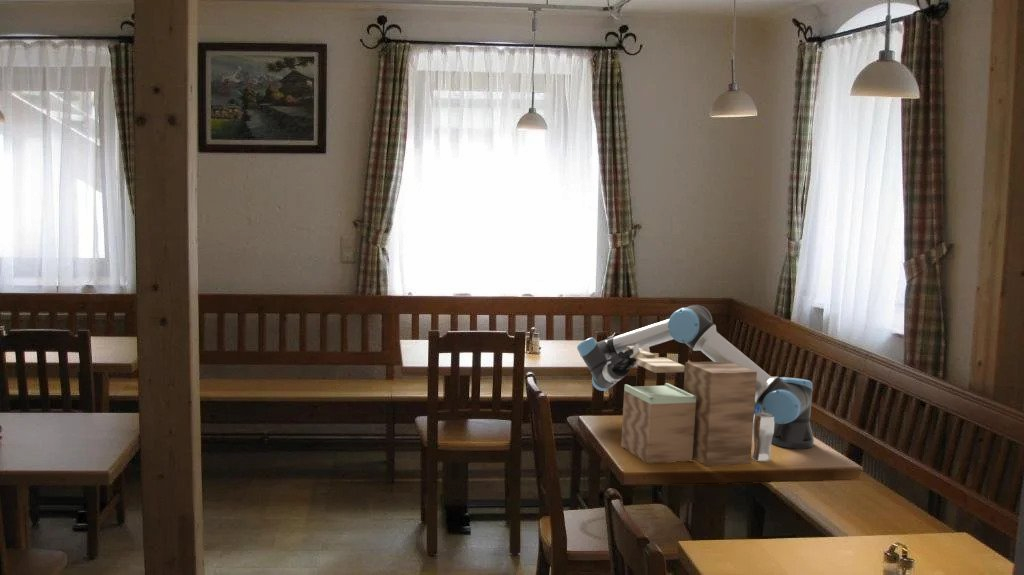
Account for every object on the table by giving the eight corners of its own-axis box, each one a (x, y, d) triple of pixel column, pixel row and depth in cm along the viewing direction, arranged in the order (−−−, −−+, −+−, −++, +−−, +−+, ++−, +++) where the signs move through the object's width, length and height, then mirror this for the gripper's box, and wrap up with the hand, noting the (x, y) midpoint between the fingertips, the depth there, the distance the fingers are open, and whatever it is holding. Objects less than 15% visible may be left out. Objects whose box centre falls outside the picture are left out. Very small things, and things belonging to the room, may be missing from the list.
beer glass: (772, 463, 330) (775, 418, 328) (750, 461, 331) (753, 416, 329) (771, 457, 336) (774, 413, 335) (749, 455, 338) (753, 411, 336)
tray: (624, 390, 340) (624, 384, 340) (667, 388, 345) (667, 383, 345) (650, 404, 321) (651, 397, 321) (695, 402, 326) (696, 396, 326)
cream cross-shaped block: (616, 354, 352) (616, 346, 352) (643, 354, 356) (644, 345, 355) (654, 372, 324) (655, 363, 324) (684, 372, 327) (684, 362, 327)
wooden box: (621, 446, 342) (624, 390, 340) (663, 444, 347) (667, 388, 345) (647, 463, 323) (650, 404, 321) (692, 460, 328) (695, 402, 326)
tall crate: (679, 450, 341) (685, 362, 337) (722, 448, 346) (727, 361, 342) (706, 465, 324) (712, 373, 320) (750, 463, 329) (756, 372, 325)
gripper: (638, 379, 366) (666, 357, 345) (597, 379, 361) (623, 358, 340) (635, 359, 369) (662, 337, 348) (594, 359, 364) (619, 337, 343)
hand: (643, 347), depth 344 cm, fingers closed on cream cross-shaped block, 3 cm apart
